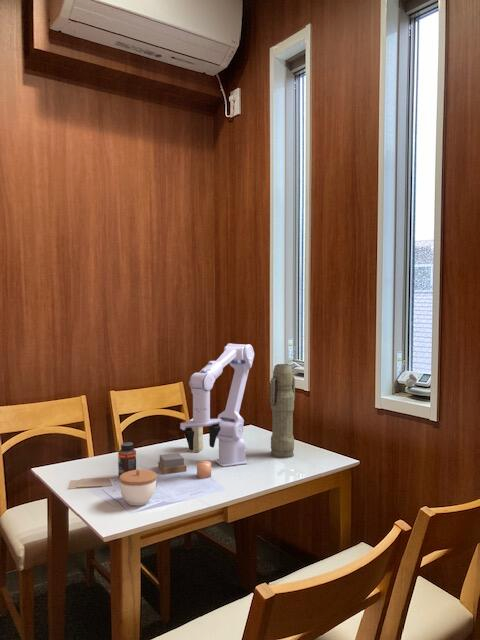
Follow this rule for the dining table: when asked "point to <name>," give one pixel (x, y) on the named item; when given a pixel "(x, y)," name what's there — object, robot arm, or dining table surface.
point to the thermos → (282, 411)
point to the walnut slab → (171, 469)
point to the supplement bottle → (126, 458)
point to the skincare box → (197, 439)
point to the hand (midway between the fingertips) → (201, 448)
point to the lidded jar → (138, 486)
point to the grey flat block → (171, 460)
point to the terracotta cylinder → (203, 469)
